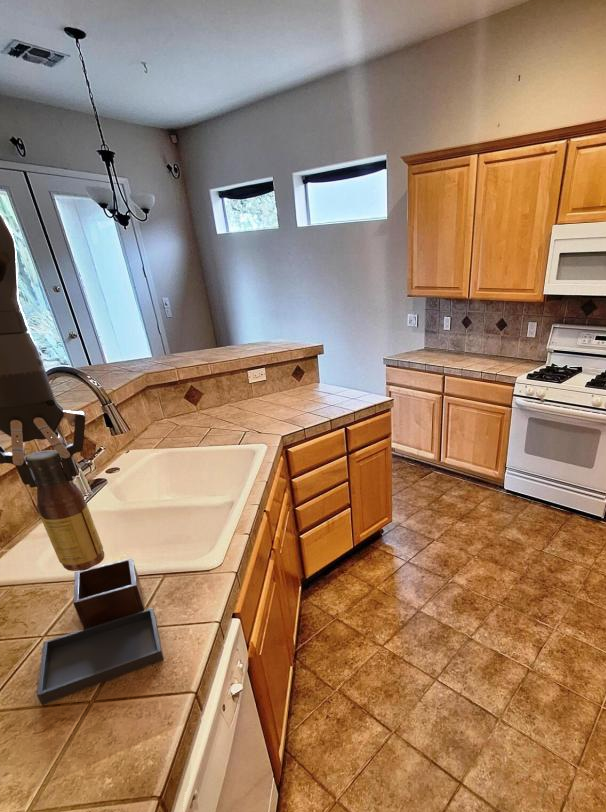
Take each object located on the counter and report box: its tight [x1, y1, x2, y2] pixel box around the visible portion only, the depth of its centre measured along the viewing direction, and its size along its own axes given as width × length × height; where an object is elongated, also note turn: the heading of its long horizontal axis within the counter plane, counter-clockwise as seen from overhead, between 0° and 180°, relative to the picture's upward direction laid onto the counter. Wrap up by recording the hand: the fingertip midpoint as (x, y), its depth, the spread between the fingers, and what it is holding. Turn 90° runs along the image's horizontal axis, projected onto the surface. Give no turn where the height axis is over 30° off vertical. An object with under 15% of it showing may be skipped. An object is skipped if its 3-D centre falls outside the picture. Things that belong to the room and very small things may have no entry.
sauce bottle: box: [25, 449, 105, 572], centre depth 69 cm, size 6×6×20 cm
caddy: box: [72, 557, 146, 630], centre depth 86 cm, size 10×11×7 cm
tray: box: [36, 607, 165, 705], centre depth 75 cm, size 17×13×2 cm
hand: (52, 481), depth 66 cm, fingers closed on sauce bottle, 4 cm apart
